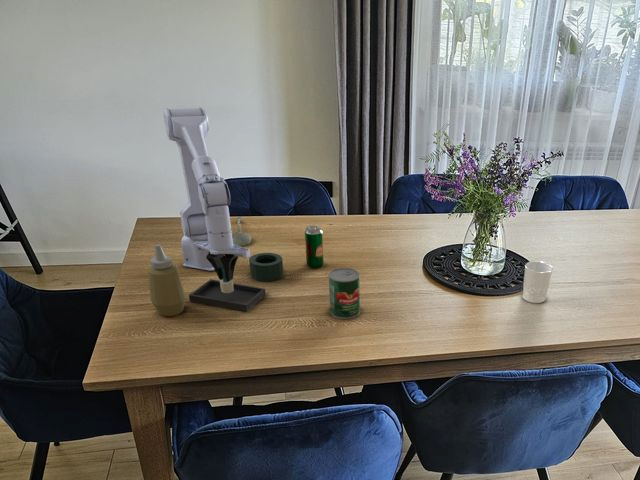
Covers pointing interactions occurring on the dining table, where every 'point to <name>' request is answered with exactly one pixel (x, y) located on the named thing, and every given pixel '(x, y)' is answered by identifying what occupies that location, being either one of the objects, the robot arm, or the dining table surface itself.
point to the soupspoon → (241, 236)
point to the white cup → (536, 281)
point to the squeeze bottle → (165, 284)
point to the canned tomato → (344, 293)
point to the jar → (266, 267)
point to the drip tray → (228, 296)
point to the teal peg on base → (226, 283)
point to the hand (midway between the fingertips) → (226, 278)
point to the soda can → (314, 247)
